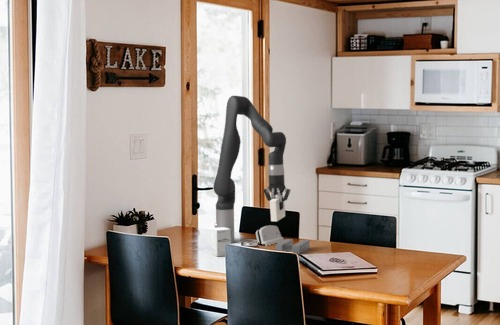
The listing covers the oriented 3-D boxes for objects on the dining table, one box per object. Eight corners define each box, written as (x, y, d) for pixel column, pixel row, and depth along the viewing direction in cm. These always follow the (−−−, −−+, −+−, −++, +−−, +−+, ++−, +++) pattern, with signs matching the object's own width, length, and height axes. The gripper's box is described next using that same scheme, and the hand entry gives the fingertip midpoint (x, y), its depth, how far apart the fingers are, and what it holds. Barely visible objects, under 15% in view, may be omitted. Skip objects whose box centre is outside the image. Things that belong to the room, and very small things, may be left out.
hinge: (266, 246, 397) (260, 227, 398) (258, 248, 399) (253, 229, 401) (285, 241, 410) (279, 222, 411) (277, 243, 413) (272, 224, 414)
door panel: (276, 221, 379) (275, 200, 377) (270, 221, 380) (268, 200, 379) (285, 216, 390) (284, 196, 388) (278, 216, 391) (277, 195, 390)
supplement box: (217, 257, 372) (216, 230, 371) (210, 254, 378) (209, 228, 377) (231, 255, 375) (230, 228, 374) (224, 252, 382) (223, 226, 381)
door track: (299, 254, 375) (299, 246, 374) (275, 252, 379) (275, 244, 379) (309, 248, 390) (309, 240, 389) (286, 246, 394) (286, 238, 394)
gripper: (259, 174, 382) (261, 210, 383) (287, 174, 376) (288, 211, 378) (265, 173, 389) (266, 208, 390) (292, 173, 383) (293, 208, 385)
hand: (277, 209), depth 384 cm, fingers closed on door panel, 3 cm apart
